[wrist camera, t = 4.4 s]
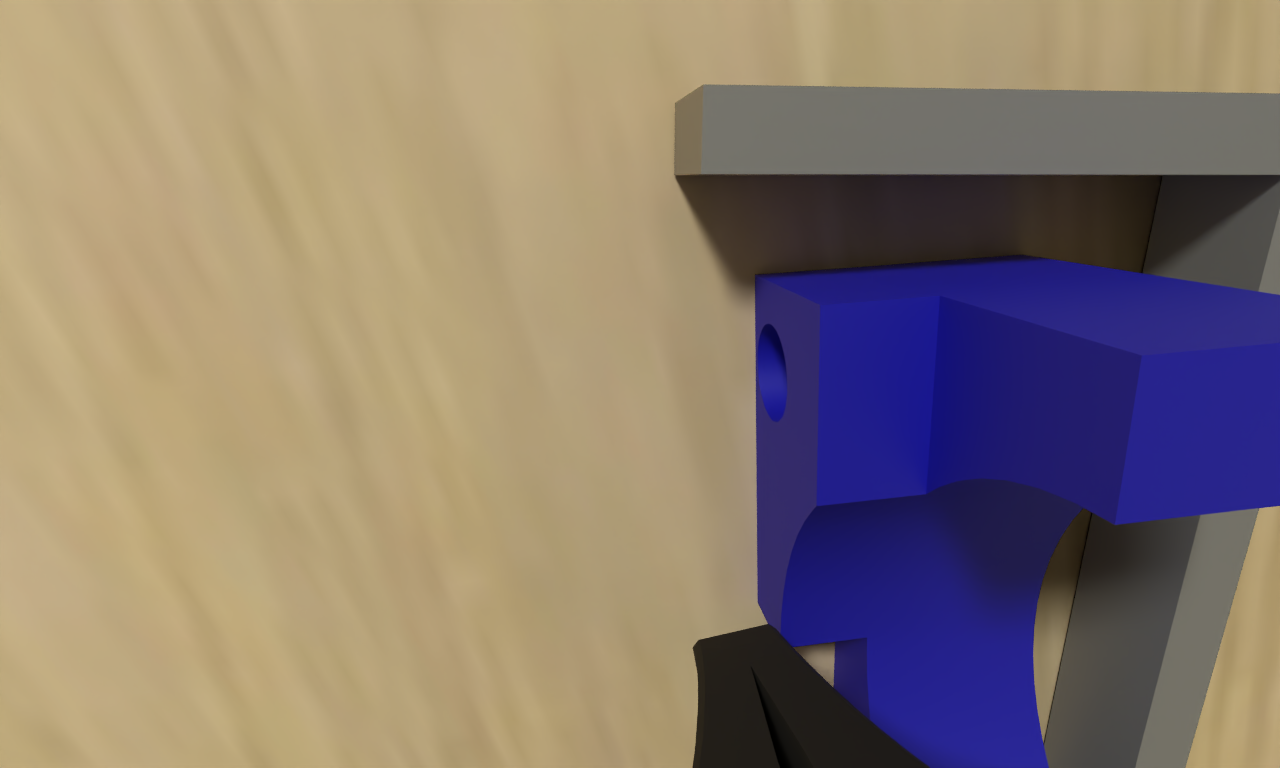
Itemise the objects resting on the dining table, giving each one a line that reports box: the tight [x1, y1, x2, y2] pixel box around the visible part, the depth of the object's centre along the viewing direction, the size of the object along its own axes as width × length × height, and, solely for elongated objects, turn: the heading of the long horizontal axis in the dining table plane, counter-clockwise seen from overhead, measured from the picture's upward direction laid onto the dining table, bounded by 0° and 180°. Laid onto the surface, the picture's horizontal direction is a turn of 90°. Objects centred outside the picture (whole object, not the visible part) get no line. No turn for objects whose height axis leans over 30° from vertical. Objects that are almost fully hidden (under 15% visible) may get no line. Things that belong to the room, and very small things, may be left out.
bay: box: [674, 85, 1280, 768], centre depth 12 cm, size 9×18×2 cm, turn 0°
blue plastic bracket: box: [755, 255, 1280, 768], centre depth 10 cm, size 12×4×6 cm, turn 3°
